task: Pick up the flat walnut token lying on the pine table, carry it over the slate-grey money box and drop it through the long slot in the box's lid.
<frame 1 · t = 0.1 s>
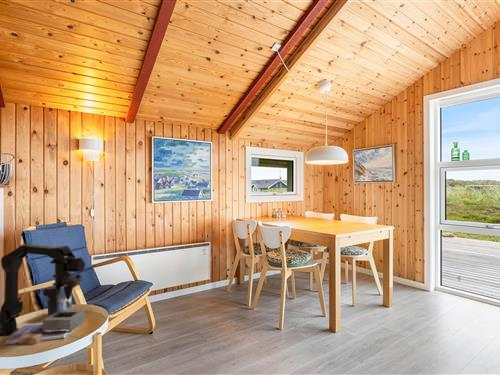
hand: (62, 302, 142), 15 cm above the table, tool pointing down, fingers open, 9 cm apart
small box: (60, 315, 163), on the table
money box: (64, 326, 148), on the table
walnut token: (30, 342, 134), on the table
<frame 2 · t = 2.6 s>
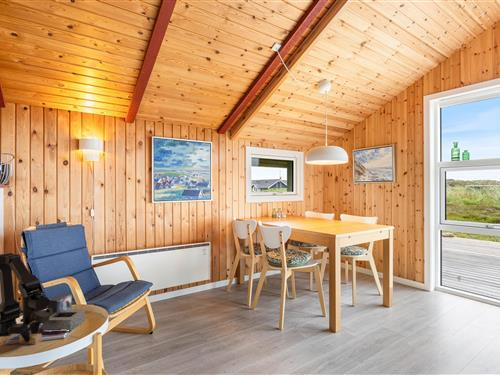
hand: (30, 339, 134), 1 cm above the table, tool pointing down, fingers closed on walnut token, 4 cm apart
walnut token: (30, 341, 134), on the table, touching gripper
everything else where it was.
when the fingers open (7 cm above the table, at t = 6.5 s): walnut token drops 5 cm, resting on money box.
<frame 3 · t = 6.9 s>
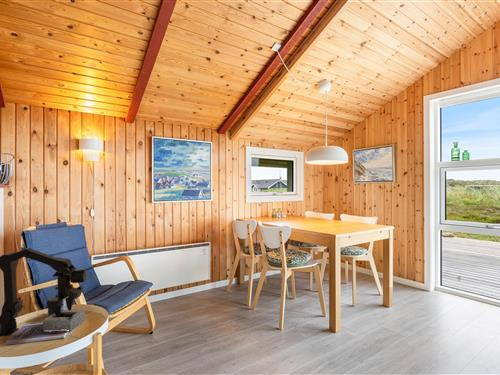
hand: (64, 313, 149), 7 cm above the table, tool pointing down, fingers open, 8 cm apart
walnut token: (64, 325, 148), resting on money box
everything else where it was.
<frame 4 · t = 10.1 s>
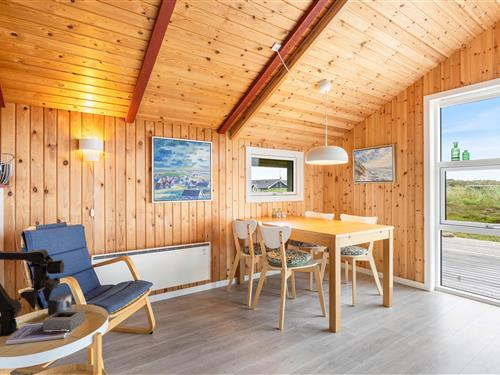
hand: (40, 305, 147), 12 cm above the table, tool pointing down, fingers open, 9 cm apart
nothing on the table moved.
at the end: walnut token inside the target area on the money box (0.0 cm from its centre), point 0.5 cm above the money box's base; the gripper is holding nothing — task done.
